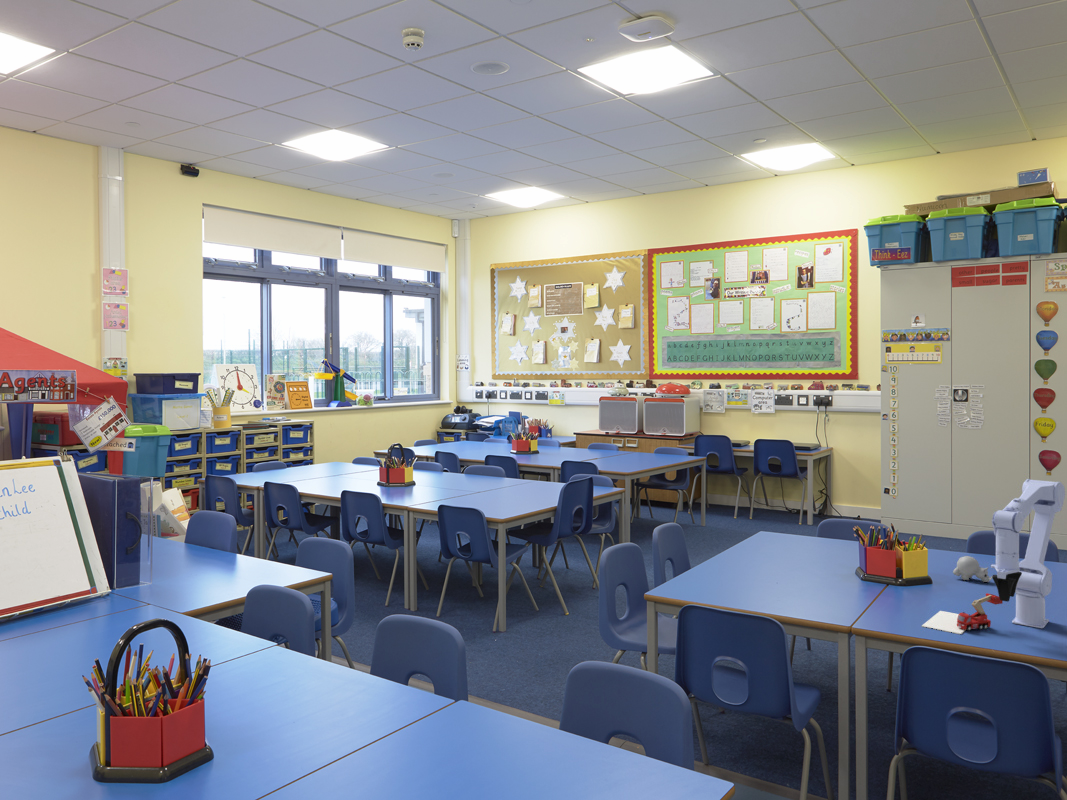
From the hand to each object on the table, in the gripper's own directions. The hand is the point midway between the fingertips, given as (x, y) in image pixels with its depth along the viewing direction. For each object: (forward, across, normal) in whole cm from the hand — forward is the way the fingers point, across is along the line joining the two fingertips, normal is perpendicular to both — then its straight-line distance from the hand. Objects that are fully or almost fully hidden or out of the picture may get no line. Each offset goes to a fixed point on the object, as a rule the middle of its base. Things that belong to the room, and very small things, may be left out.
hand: (1007, 598), depth 218 cm
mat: (+10, 0, -15) cm, 18 cm away
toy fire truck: (+10, 0, -8) cm, 13 cm away
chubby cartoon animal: (+10, -56, -22) cm, 61 cm away
